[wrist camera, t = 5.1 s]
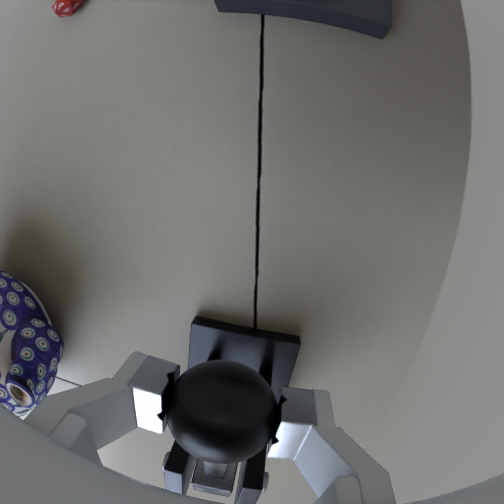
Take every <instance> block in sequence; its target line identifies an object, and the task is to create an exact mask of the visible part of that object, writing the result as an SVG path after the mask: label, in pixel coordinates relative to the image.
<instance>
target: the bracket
mask: <svg viewBox="0 0 504 504" xmlns="http://www.w3.org/2000/svg"><path fill="white" fill-rule="evenodd" d="M300 345H301V343H300V336H296V335H289V334H284V333H278V332H272V331H266V330H261V329H256V328H250V327H245V326H240V325H235V324H230V323H225V322H221V321H216V320H211V319H207V318H202V317H198V316H195V318H194V320H193V321H192V323H191V333H190V346H189V361H188V369H190V368H191V367H193V366H195V365H197V364H200V363H203V362H206V361H212V360H229V361H234V362H238V363H241V364H244V365H246V366H248V367H250V368H252V369H253V370H255V371H256V372H258V373H259V374H260V375H261V376H262V377H263V378H264V379H265V380H266V381H267V382H268V384H269V385H270V387H271V389H272V390H273V392H274V395H275V398H276V401H277V394H278V391H279V388H280V386H286V387H288V384H289V381H290V377H291V374H292V371H293V368H294V365H295V362H296V358H297V355H298V352H299V348H300ZM266 449H267V445H266V446H265V447H264V448H263V449H262V450H261V451H260V452H258V453H257V454H256V455H254V456H253V457H251V458H249V459H247V460H244V461H241V467H240V473H239V479H238V485H237V490H236V496H235V502H234V504H256V502H257V500H258V498H259V496H260V494H261V492H265V491H266V488H267V485H268V478H269V474H268V472H264V471H265V460H266ZM196 460H197V458H196V457H194V456H193V455H191V454H190V453H188V452H187V451H185V450H184V449H183V448H182V447H181V446H180V445H179V444H178V442H177V441H176V440H175V441H174V444H173V446H172V449H171V451H170V452H167V453H166V455H165V458H164V461H163V466H162V469H163V471H164V477H165V485H166V490H169V491H172V492H176V493H179V494H183V495H186V492H187V489H188V486H189V483H190V480H191V476H192V473H193V470H194V467H195V463H196Z"/></svg>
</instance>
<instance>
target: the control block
mask: <svg viewBox="0 0 504 504" xmlns="http://www.w3.org/2000/svg"><path fill="white" fill-rule="evenodd" d="M214 2H215V4H216V7H217V9H218V11H219V12H235V13H252V14H264V15H274V16H282V17H289V18H296V19H302V20H308V21H313V22H318V23H323V24H328V25H332V26H337V27H341V28H345V29H349V30H353V31H356V32H360V33H363V34H367V35H370V36H373V37H376V38H380V39H383V38H384V37H385V35H386V34H387V33H388V31H389V30H390V29H391V27H392V5H391V0H214Z"/></svg>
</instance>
